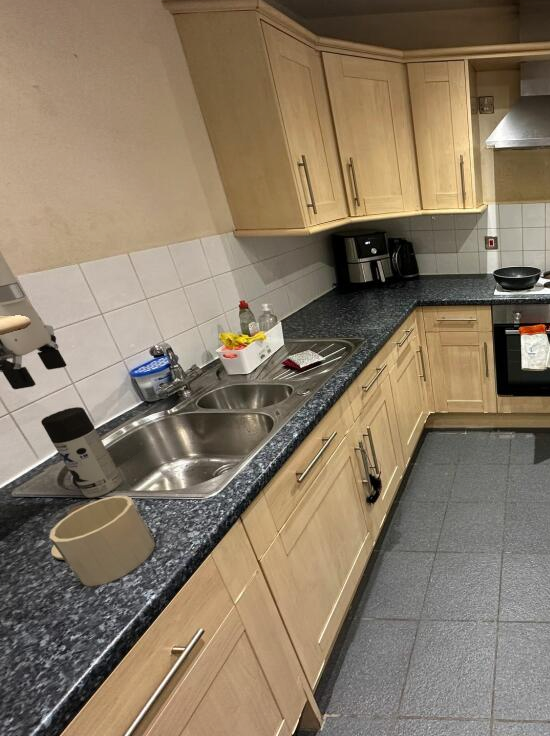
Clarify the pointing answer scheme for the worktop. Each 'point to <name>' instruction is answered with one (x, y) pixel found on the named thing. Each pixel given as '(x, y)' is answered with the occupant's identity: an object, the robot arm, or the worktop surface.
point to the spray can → (82, 451)
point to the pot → (103, 540)
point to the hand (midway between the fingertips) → (42, 377)
